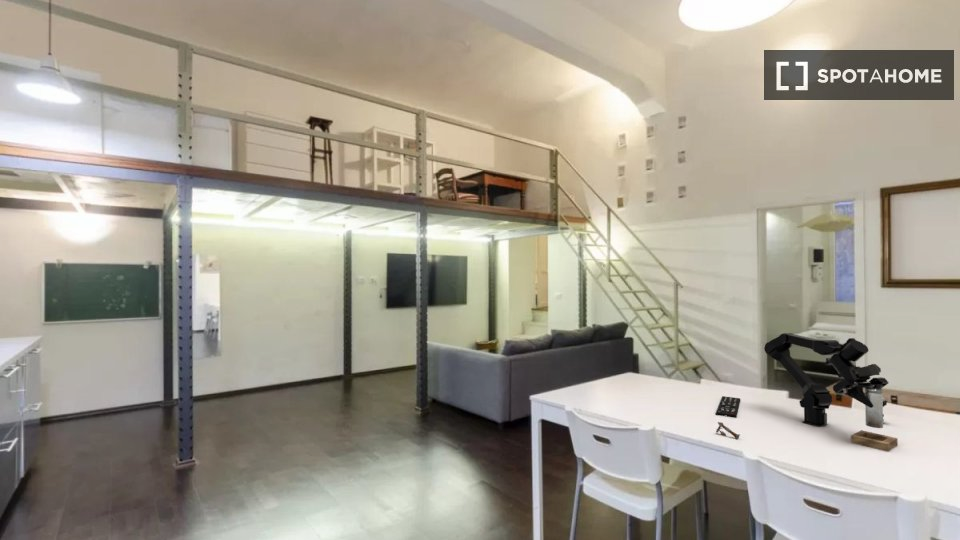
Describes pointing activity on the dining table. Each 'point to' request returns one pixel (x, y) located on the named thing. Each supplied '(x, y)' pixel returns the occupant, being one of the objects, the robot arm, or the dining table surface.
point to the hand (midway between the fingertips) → (877, 406)
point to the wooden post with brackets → (726, 430)
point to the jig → (874, 440)
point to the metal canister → (874, 407)
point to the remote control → (728, 407)
